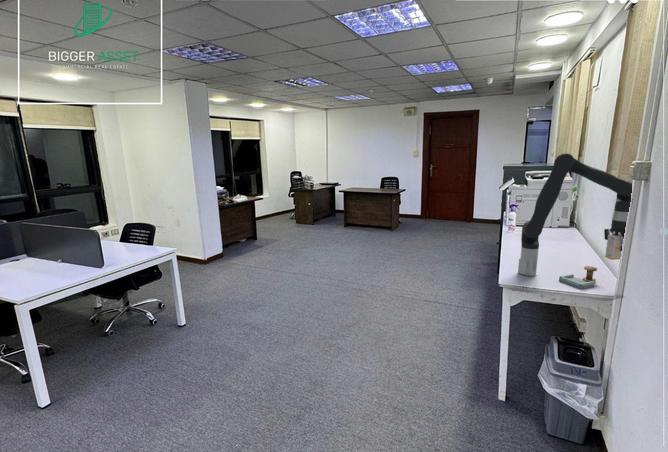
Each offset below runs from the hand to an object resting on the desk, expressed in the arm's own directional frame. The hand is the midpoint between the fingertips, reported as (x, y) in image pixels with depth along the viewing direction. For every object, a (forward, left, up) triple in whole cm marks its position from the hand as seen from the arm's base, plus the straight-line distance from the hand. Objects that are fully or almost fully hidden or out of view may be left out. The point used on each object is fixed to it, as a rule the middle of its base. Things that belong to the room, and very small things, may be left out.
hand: (616, 249), depth 181 cm
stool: (-4, +10, -21) cm, 24 cm away
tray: (-14, +10, -21) cm, 27 cm away
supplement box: (0, 0, -5) cm, 5 cm away
